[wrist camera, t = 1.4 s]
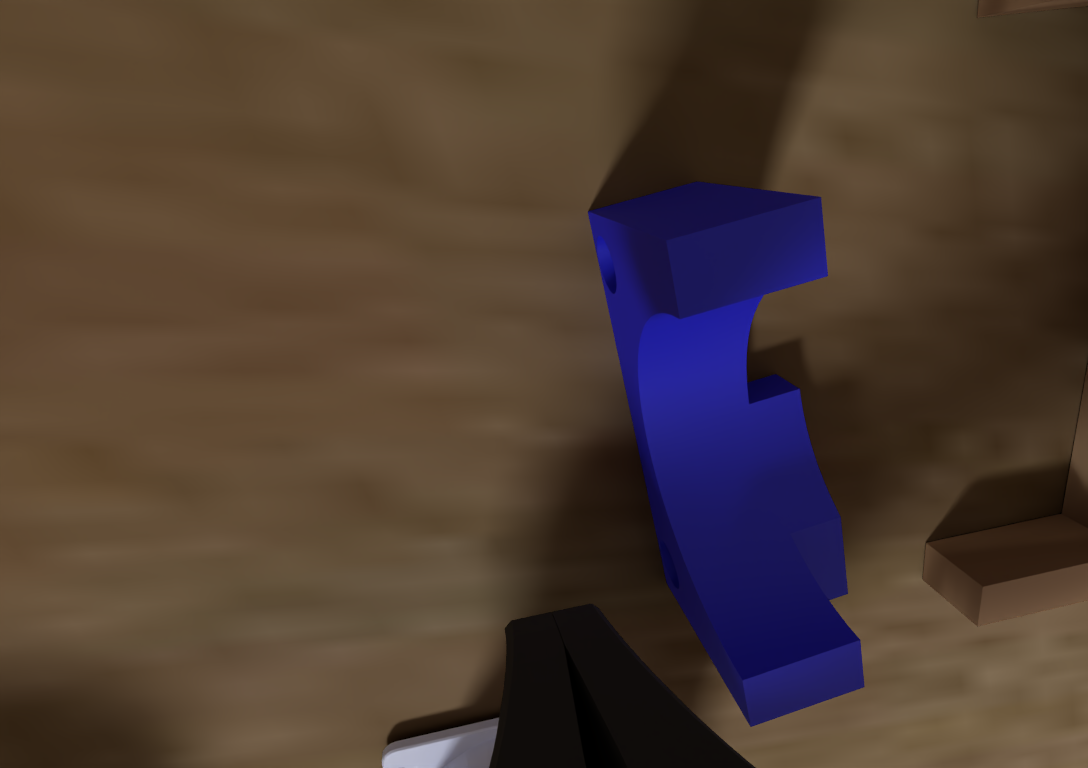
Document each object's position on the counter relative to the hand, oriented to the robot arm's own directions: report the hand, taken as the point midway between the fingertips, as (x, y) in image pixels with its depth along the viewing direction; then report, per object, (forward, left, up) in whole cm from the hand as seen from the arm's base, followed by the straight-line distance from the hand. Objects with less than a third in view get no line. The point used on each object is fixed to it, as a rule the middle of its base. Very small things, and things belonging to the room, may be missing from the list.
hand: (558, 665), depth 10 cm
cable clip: (0, -6, -10) cm, 12 cm away
